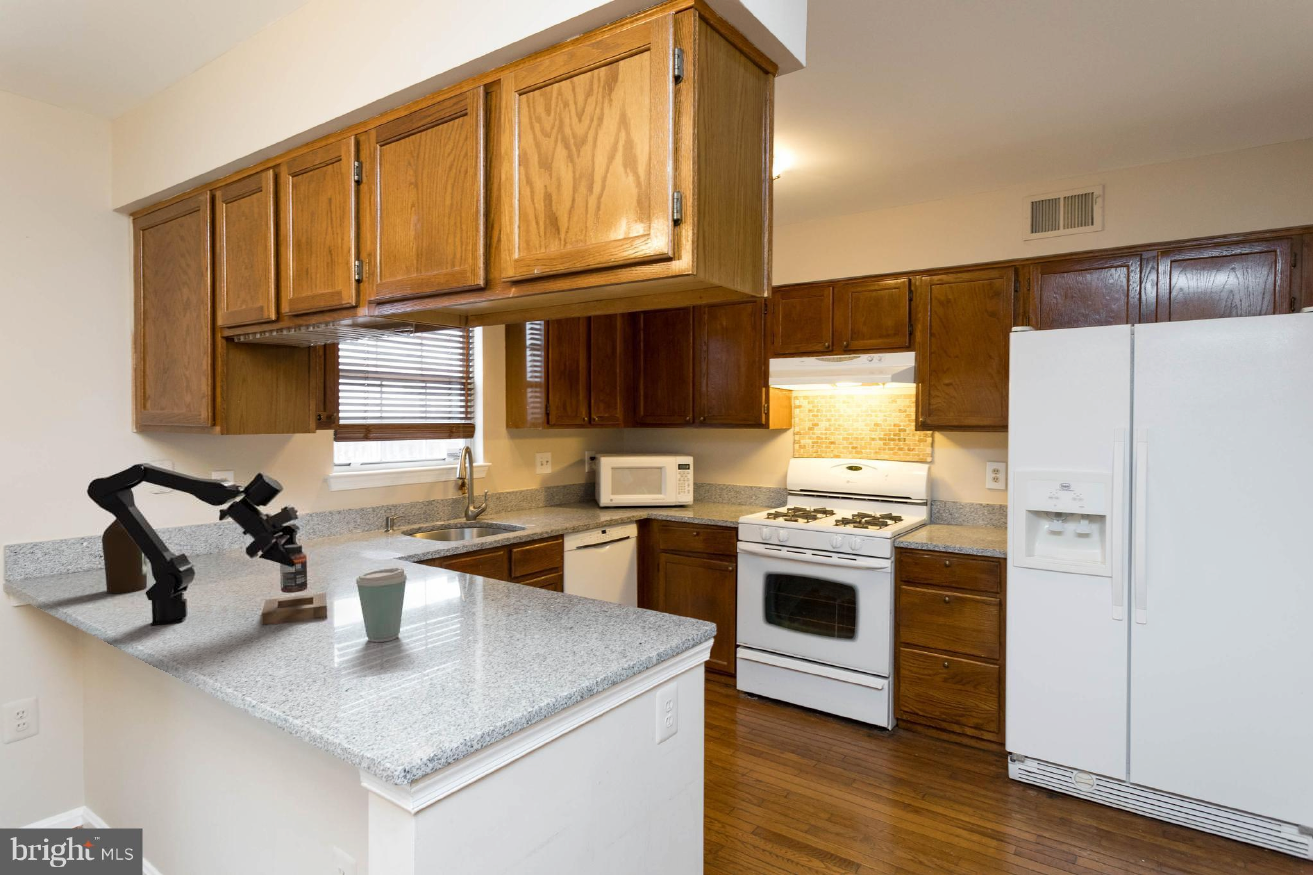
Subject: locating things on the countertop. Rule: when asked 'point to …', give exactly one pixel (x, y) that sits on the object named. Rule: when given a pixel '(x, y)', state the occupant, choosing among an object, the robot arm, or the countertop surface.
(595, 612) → the countertop surface
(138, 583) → the olive oil
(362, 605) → the disposable coffee cup
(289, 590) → the supplement bottle
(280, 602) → the bottle holder
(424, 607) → the countertop surface
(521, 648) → the countertop surface
